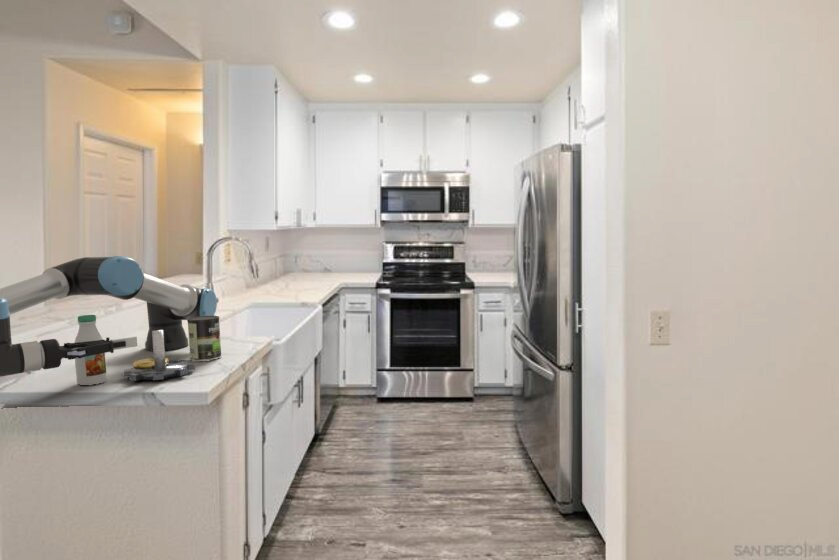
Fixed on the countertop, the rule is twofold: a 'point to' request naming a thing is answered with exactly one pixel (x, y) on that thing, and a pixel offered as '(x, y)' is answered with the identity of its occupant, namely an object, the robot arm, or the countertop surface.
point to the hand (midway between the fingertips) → (135, 341)
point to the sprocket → (158, 363)
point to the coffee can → (204, 338)
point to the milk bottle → (94, 365)
